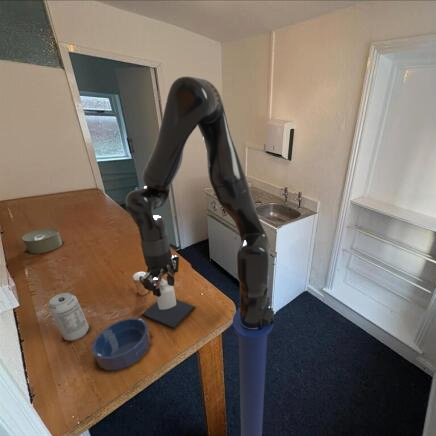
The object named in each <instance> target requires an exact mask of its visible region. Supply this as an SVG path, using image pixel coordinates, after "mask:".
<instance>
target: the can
mask: <svg viewBox="0 0 436 436" xmlns="http://www.w3.org/2000/svg"><path fill="white" fill-rule="evenodd" d="M21 240H22V242H23V243H24V245H25V247H26V248H27V251H28V253H31V254H43V253H48V252H51V251H52V252H53V251H54V250H57V249H58V248H60V247H62V245H63V241H62V239H61V236H60V233H59V230H58V229H57V228H43V229H36V230H34V231H31V232H28V233H26V234H24V235H23V236H22V238H21Z"/></svg>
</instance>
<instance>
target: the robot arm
mask: <svg viewBox="0 0 436 436" xmlns="http://www.w3.org/2000/svg"><path fill="white" fill-rule="evenodd" d="M196 128H198V130H199V132H200V134H201V137H202V139H203V142H204V145H205V150H206V159H207V160H206V161H207V162H206V163H207V164H206V165H207V173H208V179H209V182H210V185H211V188H212V190H213V192H214V195H215V197H216V199H217V203H219V205H220V206H221V208H222V209H223V211H225V213H226V214H227V215H229V217H230V218H231V219H232V220H233V222H234V223H235V225H236V228H237V231H238V234H239V237H240V242H241V243H240V245H239V248H238V252H237V255H236V266H237V267H236V268H237V270H236V271H237V277H238V281H239V308H240V323H241V325H242V326H243V327H244V328H245V329H248V330H257V329H259V330H262V328H263V326H264V325H265V324H266V325H268V326H269V325H270V324H273V325H274V324H275V322H276V321H275V317H274V316H275V311H274V310H272V309H270V297H269V295H268V294H269V276H270V275H269V267H270V265H269V264H270V255H271V242H270V239H269V236H268V234H267V233H266V230H265V228H264V226H263V224H262V222H261V220H260V218H259V215H258V212H257V209H256V204H255V201H254V197H253V195H252V191H251V188H250V185H249V182H248V179H247V176H246V173H245V171H244V168H243V165H242V163H241V160H240V157H239V154H238V151H237V149H236V146H235V143H234V141H233V138H232V134H231V132H230V128H229V124H228V120H227V115H226V111H225V107H224V103H223V100H222V96H221V93H220V92H219V90H218V88H216V86H215V85H214V84H213V83H211V82H210V81H209V80H207V79H204V78H201V77H195V76H189V75H187V76H180V77H178V78H177V79H175V80H173V82H172V84H171V85H170V88H169V90H168V94H167V97H166V102H165V107H164V112H163V116H162V120H161V123H160V127H159V130H158V135H157V138H156V141H155V144H154V147H153V150H152V152H151V154H150V157H149V159H148V161H147V163H146V165H145V167H144V170H143V171H142V176H141V179H142V181H143V183H144V184H145V185H144V186H141V187H139V188H137V189H134V190H132V191H130V192H129V193H128V194H127V195H126V197H125V207H126V210H127V212H128V213H129V215H130V216H131V218H132V220H133V222H134V223H135V224H136V226H137V229H138V233H139V237H140V246H141V250H142V255H143V259H144V263H145V266H146V267H147V269H146V272H145V273H146V274H145V275H144V276H140V277H139V280H140V281H141V283H142V285H143V286H144V288H145V289H147V290H148V292H152V295H153V296H155V297H156V296H158V297H160V296H161V291H160V285H159V284H160V282H161V280H162V279H163V276H165V275H166V281H167V283H168V285H170V286H173V287H174V286H175V275H176V273H178V272H179V264H180V262H179V261H180V257H179V256H177V255H175V254H172V250H171V244H170V243H171V242H170V239H169V236H168V231H167V225H166V221H165V219H164V218H163V217H162V216H160V215H154V214H153V212H154V211H156V210H157V209H159V208H161V207H163V206H164V205H165V203H166V202H167V200H168V198H169V195H170V190H171V185H172V183H173V182H174V180H175V178H176V176H177V175H178V172H179V170H180V168H181V167H182V161H183V157H184V156H183V155H184V150H185V146H186V143H187V141H188V140H189V137H190V136H191V134H192V133H193V132H194V130H195V129H196ZM273 317H274V319H273ZM271 320H272V321H271Z"/></svg>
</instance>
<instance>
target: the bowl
mask: <svg viewBox="0 0 436 436" xmlns="http://www.w3.org/2000/svg"><path fill="white" fill-rule="evenodd" d="M150 345H151V335H150V330H149V326H148V324H147V323H146V321H145V320H143V319H141V318H137V317H135V318H134V317H129V318H125V319H121V320H118V321H116V322H114V323H112V324H110V325H108V326H106V328H104V329H103V330H102V331H101V332H99V334H98V335H97V336H96V338H95V339H94V341H93V344H92V347H91V351H92V353H93V356H94V357H95V360H96V362H97V364H98V367H99V368H101V369H103V370H105V371H118V370H121V369H124V368H128V367H129V366H131V365H132V364H134V363H135V362H137V361H138V360H140V359H141V358H142V357H143V356H144V355H145V354H146V352H147V351H148V349H149V347H150Z"/></svg>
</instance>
